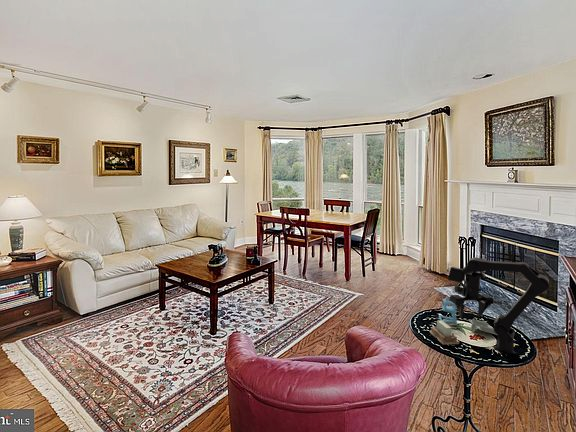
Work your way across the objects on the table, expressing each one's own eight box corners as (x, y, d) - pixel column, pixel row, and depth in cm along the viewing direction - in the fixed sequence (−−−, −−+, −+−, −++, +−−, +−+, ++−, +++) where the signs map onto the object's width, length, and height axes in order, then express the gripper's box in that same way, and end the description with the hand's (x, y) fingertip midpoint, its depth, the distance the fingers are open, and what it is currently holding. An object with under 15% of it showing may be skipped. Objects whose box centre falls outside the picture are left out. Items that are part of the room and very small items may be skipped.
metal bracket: (482, 327, 166) (465, 314, 181) (478, 338, 167) (461, 324, 181) (509, 335, 167) (491, 322, 181) (505, 346, 167) (486, 332, 182)
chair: (458, 324, 181) (460, 302, 180) (441, 322, 183) (443, 301, 182) (454, 318, 189) (456, 297, 187) (438, 316, 191) (440, 296, 189)
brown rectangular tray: (459, 343, 161) (459, 335, 160) (442, 344, 160) (443, 335, 160) (445, 331, 173) (445, 323, 172) (429, 332, 172) (430, 324, 171)
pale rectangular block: (450, 339, 162) (451, 327, 162) (445, 340, 162) (446, 328, 161) (441, 331, 171) (442, 320, 170) (436, 332, 170) (437, 320, 170)
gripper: (480, 279, 169) (477, 309, 171) (444, 279, 167) (441, 310, 169) (496, 286, 158) (492, 319, 160) (457, 287, 156) (455, 320, 158)
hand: (469, 316), depth 162 cm, fingers open, 9 cm apart
